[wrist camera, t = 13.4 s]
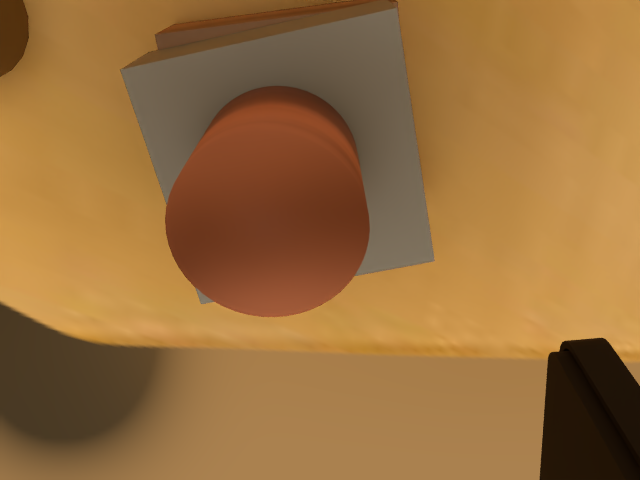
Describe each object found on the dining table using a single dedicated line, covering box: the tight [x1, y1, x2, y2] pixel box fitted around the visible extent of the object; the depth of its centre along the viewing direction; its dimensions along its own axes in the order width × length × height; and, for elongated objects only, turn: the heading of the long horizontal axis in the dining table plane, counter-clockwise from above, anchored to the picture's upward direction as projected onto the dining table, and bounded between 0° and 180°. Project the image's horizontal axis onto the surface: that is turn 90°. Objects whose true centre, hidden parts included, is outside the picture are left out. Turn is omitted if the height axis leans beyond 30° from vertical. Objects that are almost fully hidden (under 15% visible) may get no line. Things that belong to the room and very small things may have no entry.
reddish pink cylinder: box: [165, 86, 370, 317], centre depth 21 cm, size 6×6×6 cm
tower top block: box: [120, 0, 435, 304], centre depth 25 cm, size 10×10×4 cm
